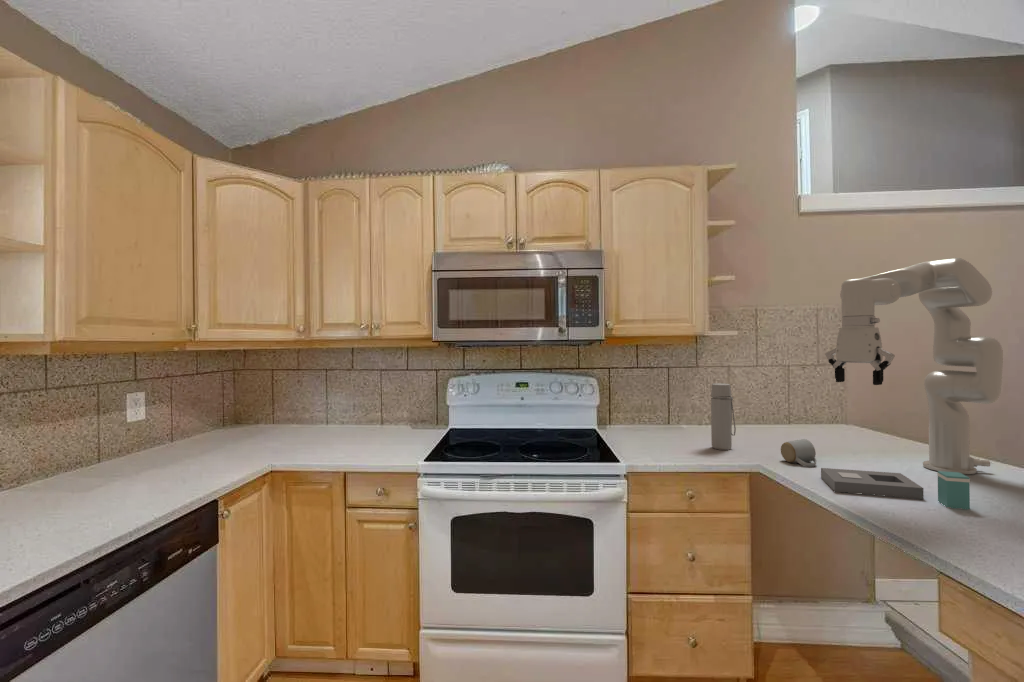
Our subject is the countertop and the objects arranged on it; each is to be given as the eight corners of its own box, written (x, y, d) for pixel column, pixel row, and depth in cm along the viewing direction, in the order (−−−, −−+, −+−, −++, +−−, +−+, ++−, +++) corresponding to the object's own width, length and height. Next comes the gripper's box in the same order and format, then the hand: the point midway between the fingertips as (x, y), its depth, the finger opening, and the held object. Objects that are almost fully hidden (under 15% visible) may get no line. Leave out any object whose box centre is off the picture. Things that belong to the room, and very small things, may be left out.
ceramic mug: (778, 459, 165) (778, 438, 165) (799, 458, 166) (799, 436, 166) (801, 468, 155) (801, 445, 154) (823, 467, 156) (823, 444, 156)
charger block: (959, 503, 121) (959, 472, 121) (970, 509, 117) (969, 477, 117) (937, 501, 123) (937, 471, 122) (946, 507, 118) (946, 476, 118)
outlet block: (900, 483, 137) (900, 472, 137) (923, 499, 124) (923, 487, 124) (821, 477, 144) (820, 467, 144) (834, 492, 131) (834, 480, 131)
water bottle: (717, 451, 179) (716, 385, 179) (707, 446, 187) (706, 383, 186) (740, 450, 179) (739, 384, 179) (730, 445, 187) (729, 382, 187)
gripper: (901, 321, 127) (901, 385, 127) (833, 323, 142) (834, 380, 142) (885, 321, 123) (885, 386, 124) (818, 323, 139) (818, 381, 139)
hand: (858, 383), depth 133 cm, fingers open, 9 cm apart
